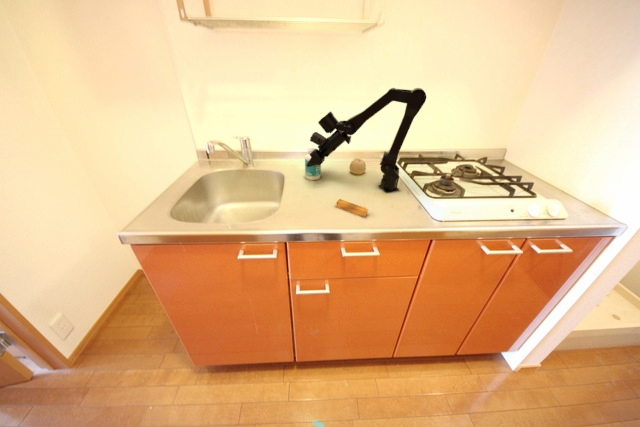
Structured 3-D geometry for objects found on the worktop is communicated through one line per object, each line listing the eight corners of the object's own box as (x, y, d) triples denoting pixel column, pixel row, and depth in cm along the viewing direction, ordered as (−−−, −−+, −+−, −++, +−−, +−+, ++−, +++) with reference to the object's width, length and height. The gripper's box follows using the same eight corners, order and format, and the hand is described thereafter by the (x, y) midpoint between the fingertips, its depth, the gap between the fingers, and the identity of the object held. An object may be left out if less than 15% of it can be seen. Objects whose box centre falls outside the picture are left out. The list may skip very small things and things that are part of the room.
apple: (349, 168, 119) (358, 155, 116) (361, 177, 117) (370, 165, 114) (344, 168, 112) (353, 155, 109) (357, 178, 110) (366, 165, 107)
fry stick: (336, 206, 87) (336, 201, 86) (339, 204, 89) (339, 198, 87) (364, 217, 81) (365, 211, 80) (367, 214, 83) (368, 208, 82)
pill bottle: (318, 181, 106) (319, 152, 99) (303, 179, 107) (302, 151, 100) (321, 174, 112) (322, 147, 105) (307, 173, 113) (307, 146, 106)
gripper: (327, 122, 103) (305, 144, 112) (314, 131, 88) (290, 156, 97) (343, 141, 105) (320, 161, 114) (333, 153, 90) (307, 175, 99)
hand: (310, 163), depth 106 cm, fingers open, 8 cm apart
